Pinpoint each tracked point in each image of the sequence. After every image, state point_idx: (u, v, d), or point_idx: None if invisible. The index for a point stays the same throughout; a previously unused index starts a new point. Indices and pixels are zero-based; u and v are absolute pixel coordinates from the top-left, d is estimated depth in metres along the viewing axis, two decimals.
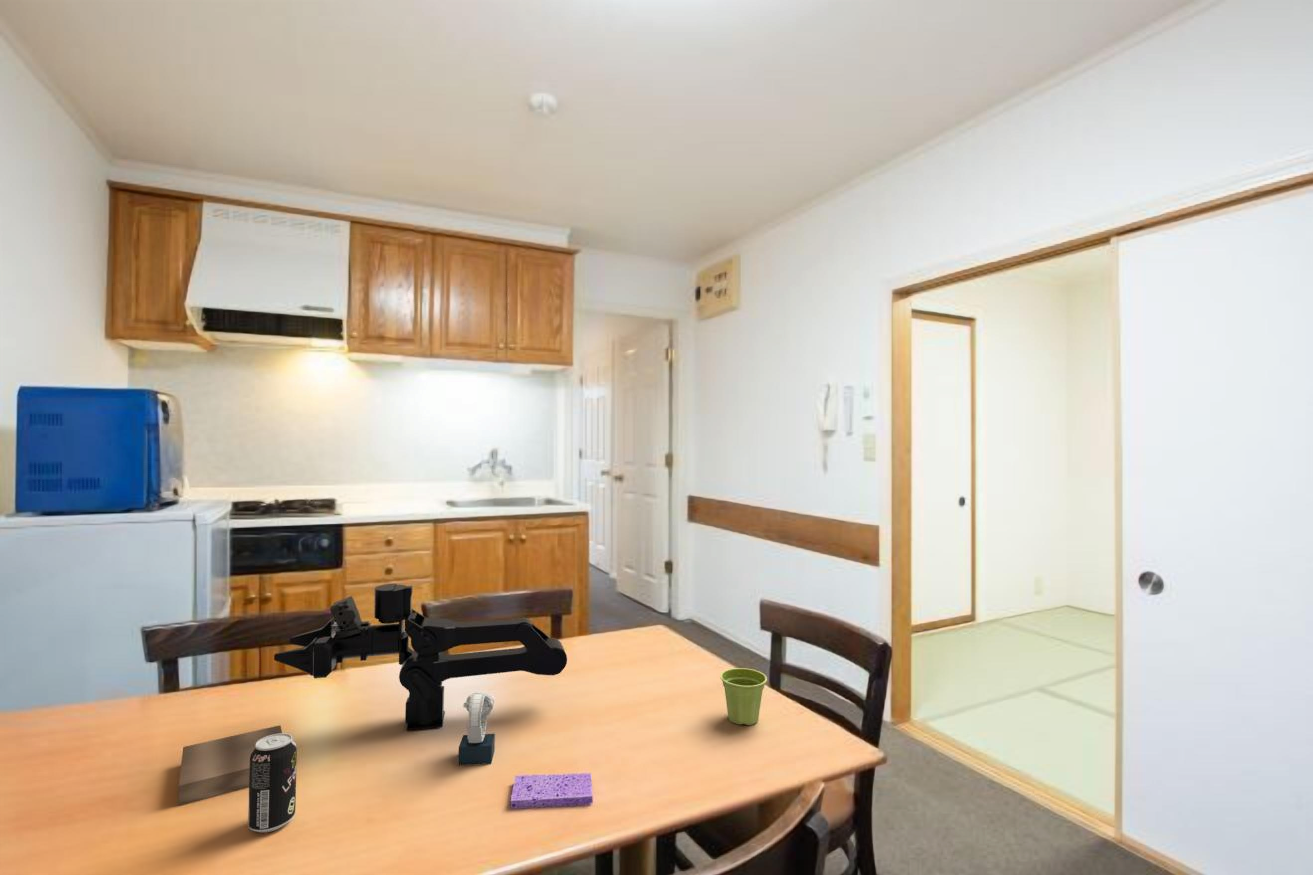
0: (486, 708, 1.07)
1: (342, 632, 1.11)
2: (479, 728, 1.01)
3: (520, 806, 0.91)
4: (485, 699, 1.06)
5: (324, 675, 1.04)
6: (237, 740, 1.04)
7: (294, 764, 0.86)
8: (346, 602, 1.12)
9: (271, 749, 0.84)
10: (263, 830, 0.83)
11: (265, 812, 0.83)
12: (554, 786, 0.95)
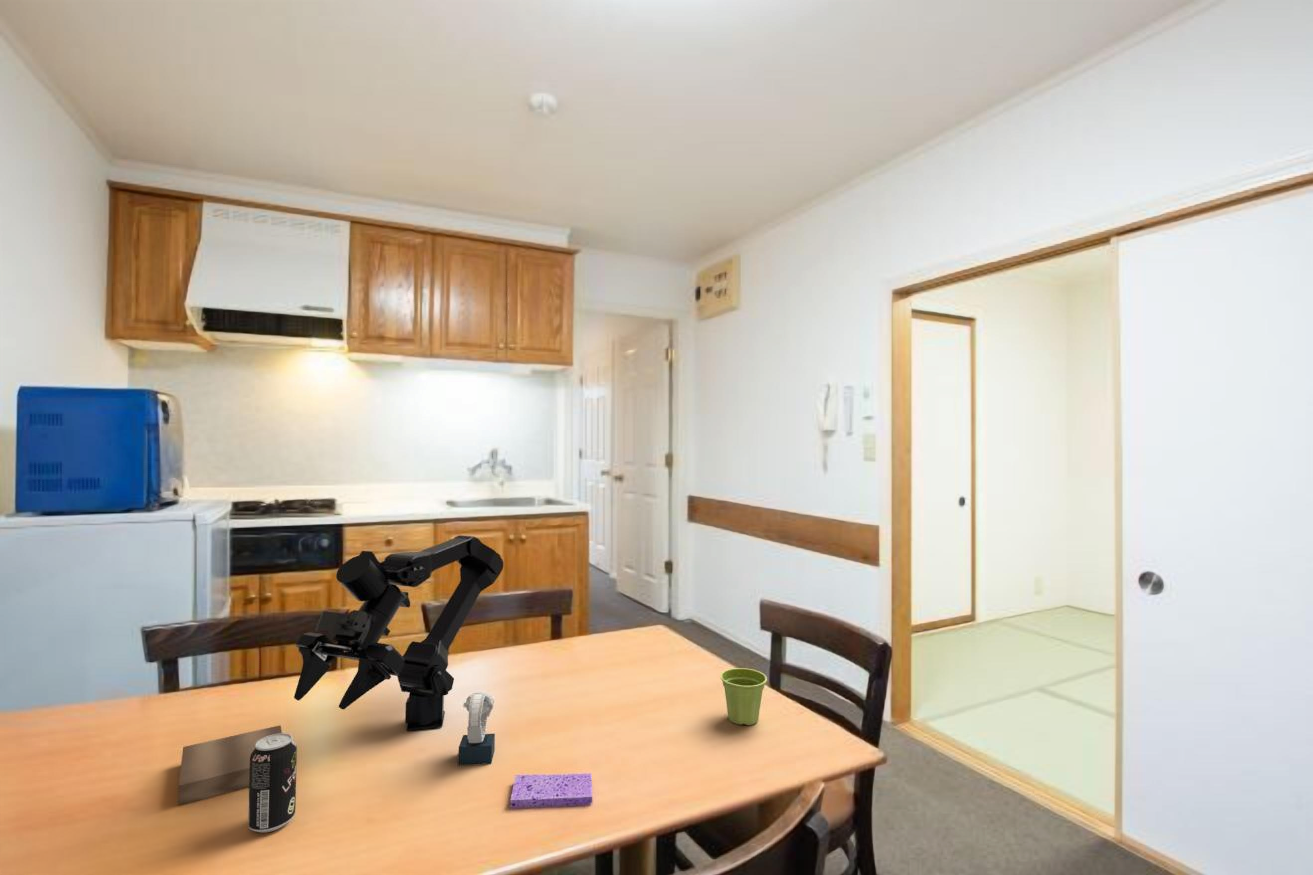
0: (486, 708, 1.07)
1: (362, 635, 0.99)
2: (479, 728, 1.01)
3: (520, 805, 0.91)
4: (485, 699, 1.06)
5: (403, 665, 0.99)
6: (237, 740, 1.04)
7: (294, 764, 0.86)
8: (342, 614, 0.96)
9: (271, 749, 0.84)
10: (263, 830, 0.83)
11: (265, 812, 0.83)
12: (554, 786, 0.95)
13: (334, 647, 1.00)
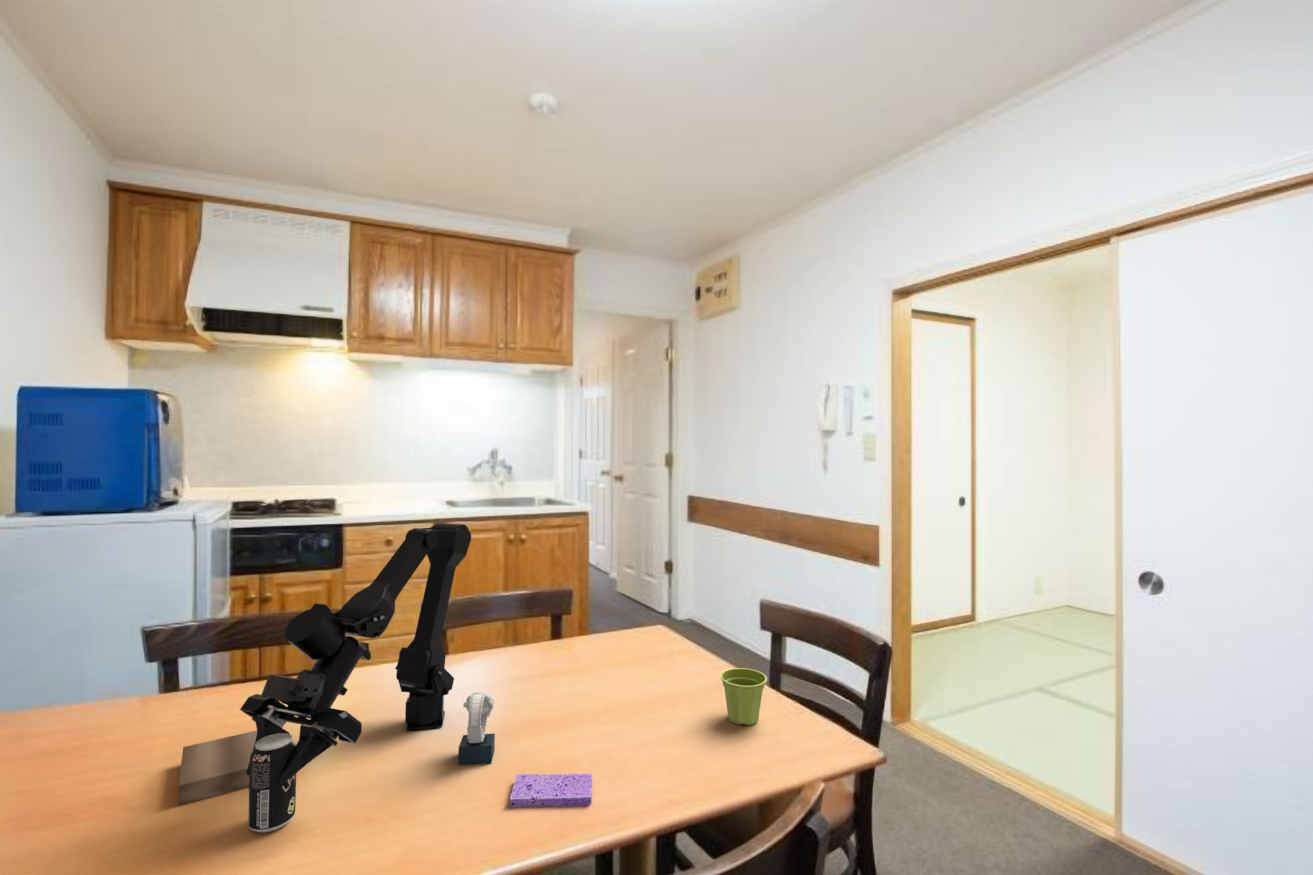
0: (486, 708, 1.07)
1: (314, 699, 0.89)
2: (479, 728, 1.01)
3: (519, 805, 0.91)
4: (485, 699, 1.06)
5: (361, 731, 0.90)
6: (237, 740, 1.04)
7: None
8: (290, 679, 0.86)
9: (271, 749, 0.84)
10: (263, 830, 0.83)
11: (265, 812, 0.83)
12: (554, 786, 0.95)
13: (292, 713, 0.90)
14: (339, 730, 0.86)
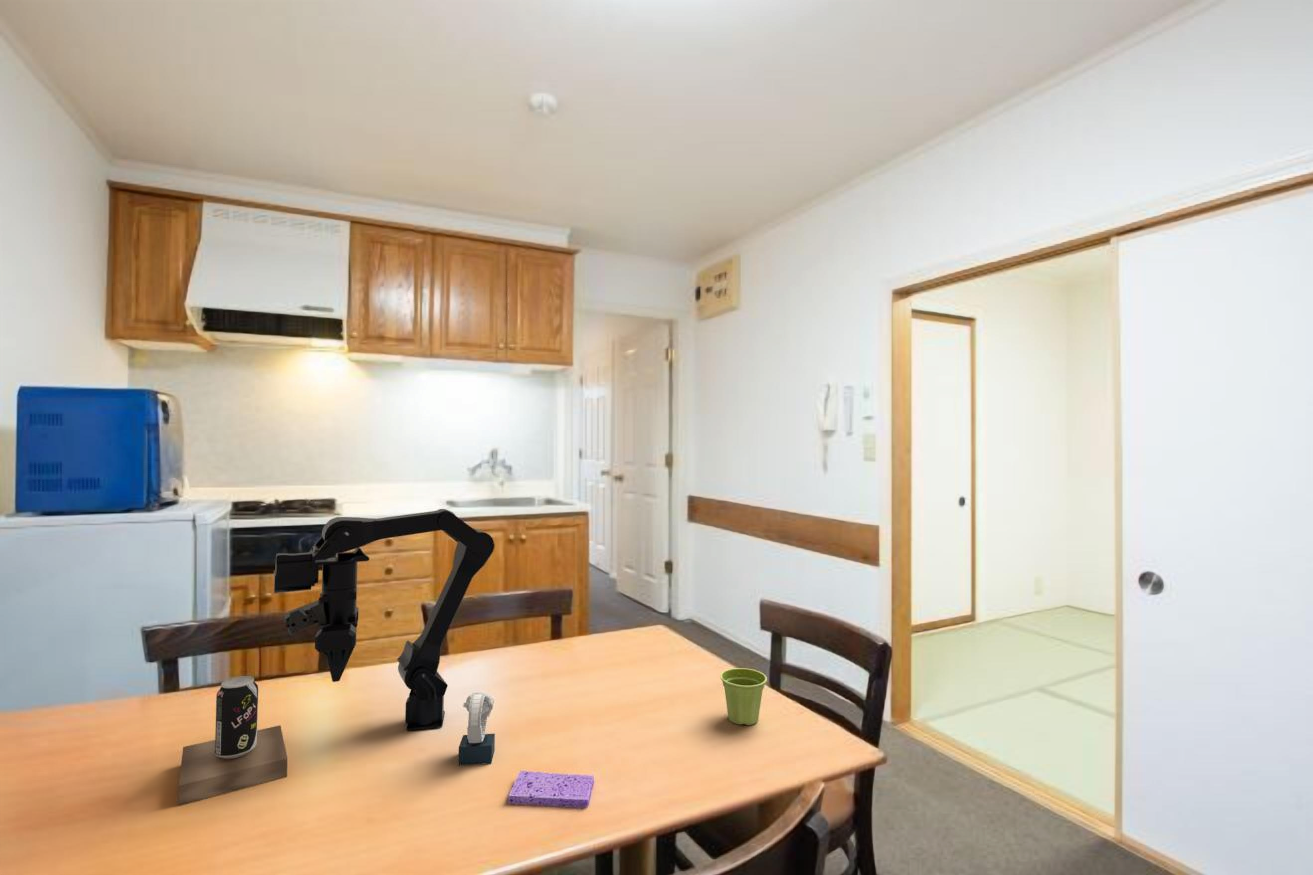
0: (486, 708, 1.07)
1: (319, 619, 1.05)
2: (479, 728, 1.01)
3: (517, 802, 0.92)
4: (485, 699, 1.06)
5: (352, 635, 1.02)
6: None
7: (246, 706, 0.98)
8: (285, 619, 1.04)
9: (225, 687, 0.97)
10: (218, 755, 0.97)
11: (219, 740, 0.97)
12: (554, 785, 0.95)
13: None
14: (322, 648, 1.00)
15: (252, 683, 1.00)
